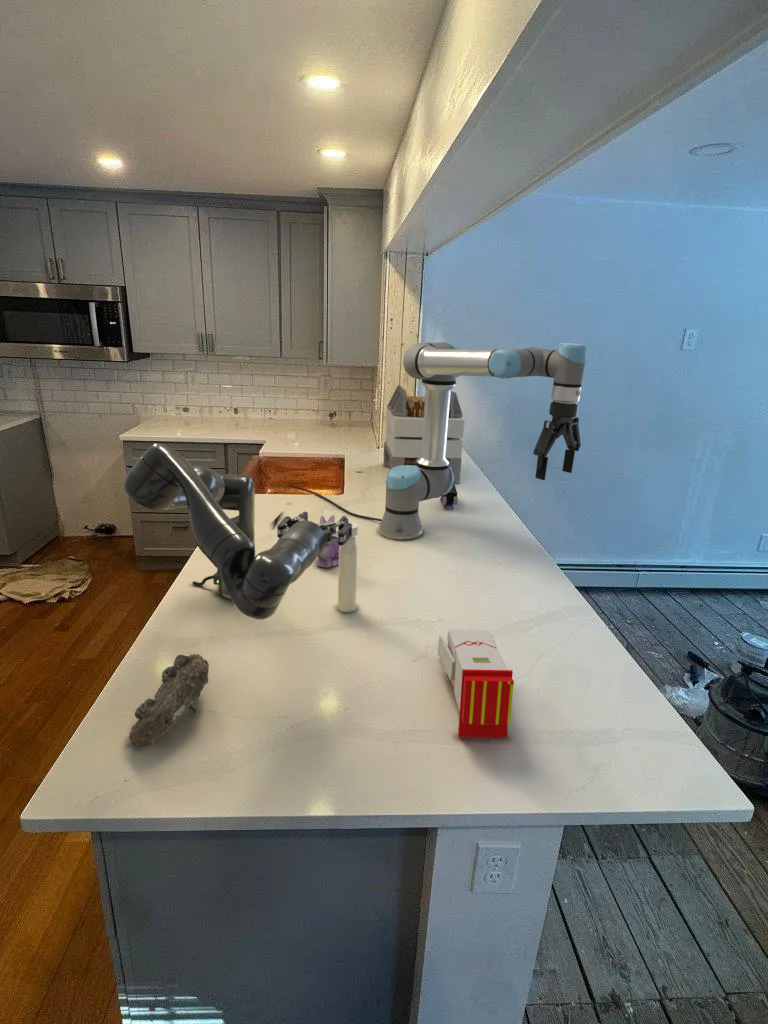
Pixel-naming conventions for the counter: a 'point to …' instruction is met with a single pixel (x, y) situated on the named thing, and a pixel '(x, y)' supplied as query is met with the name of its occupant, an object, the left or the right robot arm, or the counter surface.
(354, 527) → the cap
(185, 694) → the fossil
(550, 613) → the counter surface
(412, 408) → the grey slatted box
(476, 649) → the toy
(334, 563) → the figurine
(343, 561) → the bottle
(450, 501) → the figurine character
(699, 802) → the counter surface
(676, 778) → the counter surface
